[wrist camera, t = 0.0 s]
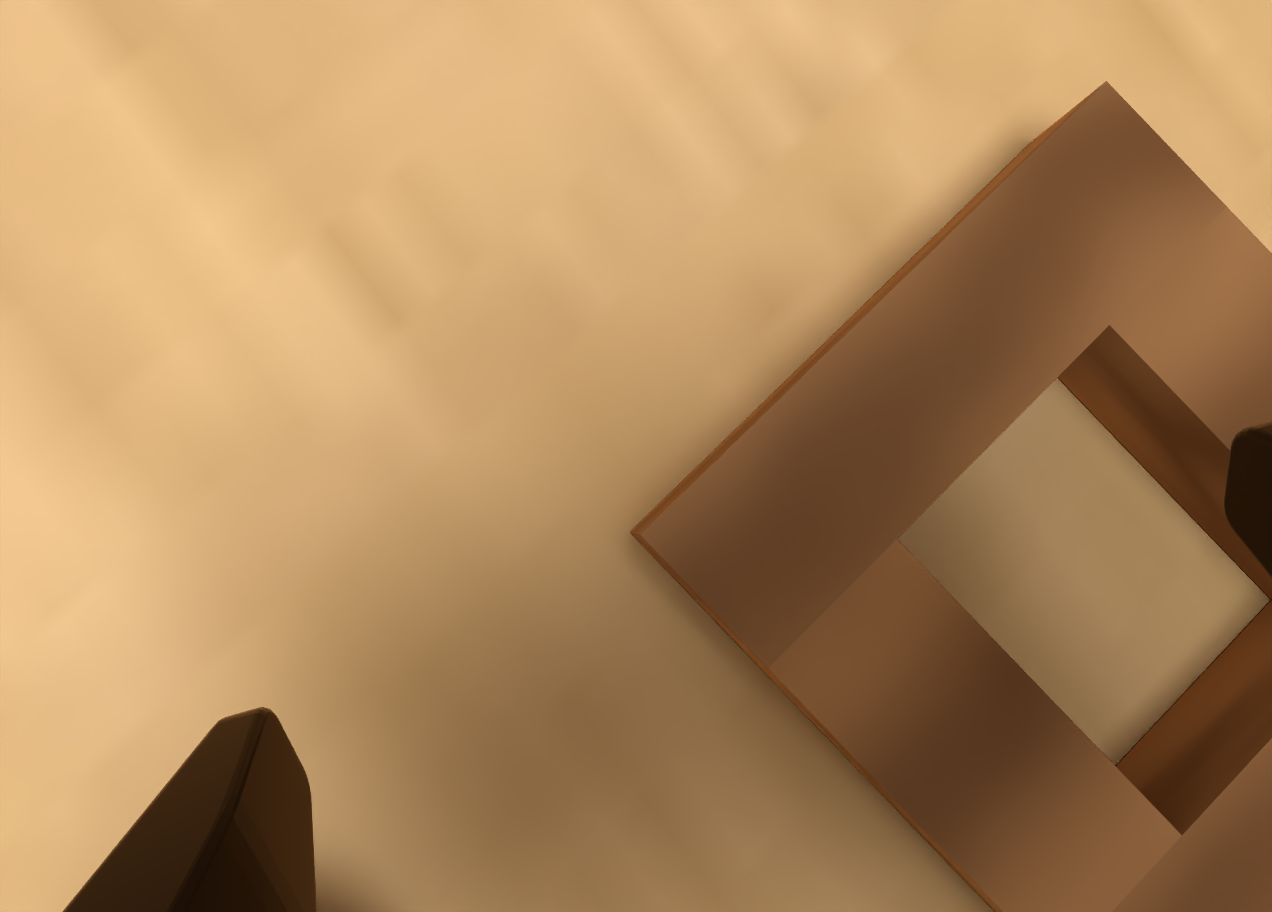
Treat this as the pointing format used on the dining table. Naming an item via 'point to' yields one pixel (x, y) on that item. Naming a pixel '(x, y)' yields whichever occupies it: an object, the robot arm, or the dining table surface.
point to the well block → (939, 453)
